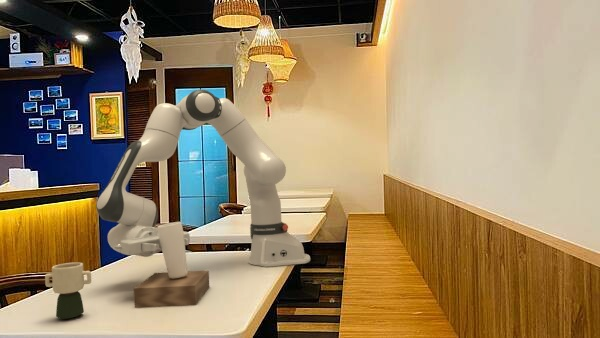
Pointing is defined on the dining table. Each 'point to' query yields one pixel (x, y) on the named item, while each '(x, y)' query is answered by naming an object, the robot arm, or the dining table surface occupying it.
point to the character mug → (68, 288)
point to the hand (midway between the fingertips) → (172, 244)
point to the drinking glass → (173, 249)
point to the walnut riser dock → (171, 289)
